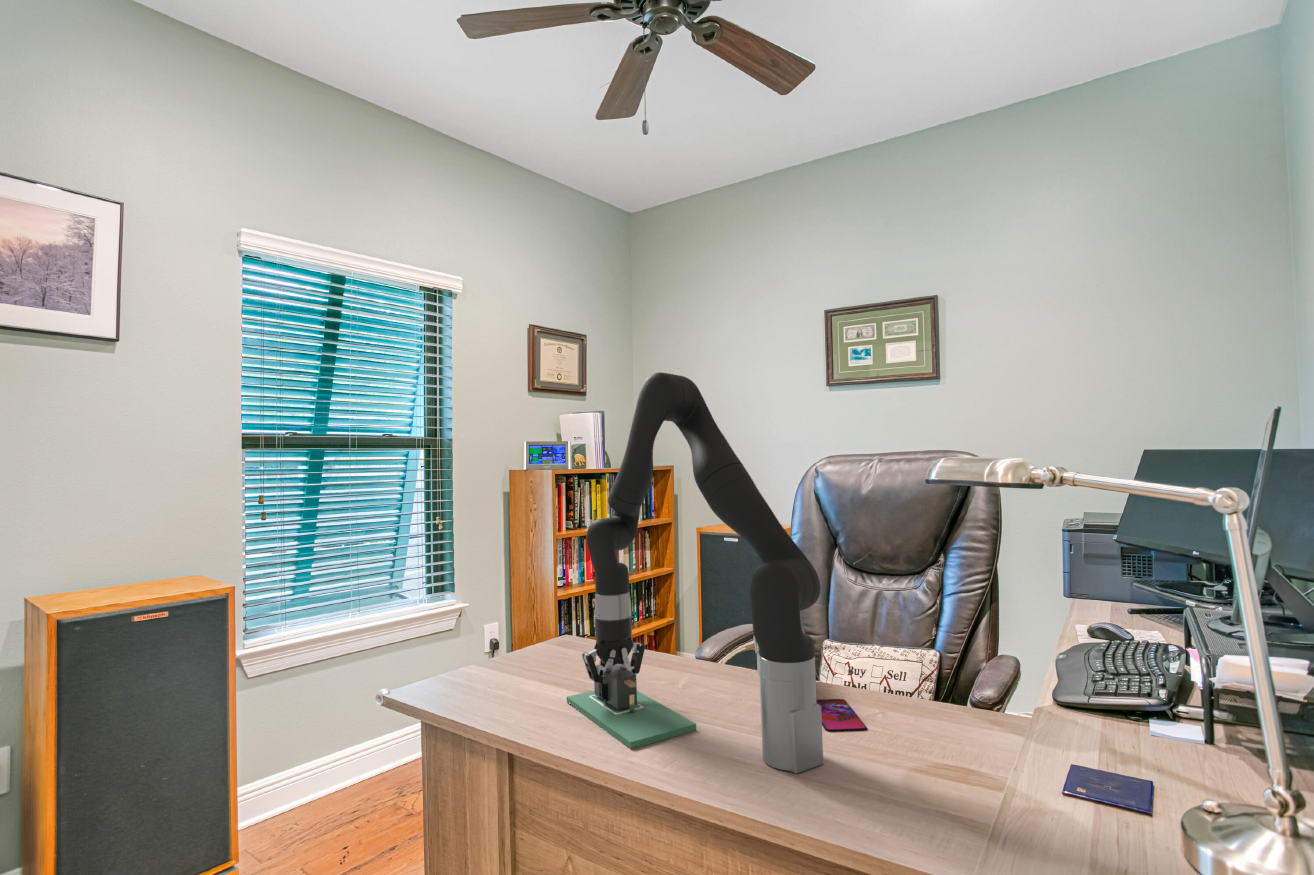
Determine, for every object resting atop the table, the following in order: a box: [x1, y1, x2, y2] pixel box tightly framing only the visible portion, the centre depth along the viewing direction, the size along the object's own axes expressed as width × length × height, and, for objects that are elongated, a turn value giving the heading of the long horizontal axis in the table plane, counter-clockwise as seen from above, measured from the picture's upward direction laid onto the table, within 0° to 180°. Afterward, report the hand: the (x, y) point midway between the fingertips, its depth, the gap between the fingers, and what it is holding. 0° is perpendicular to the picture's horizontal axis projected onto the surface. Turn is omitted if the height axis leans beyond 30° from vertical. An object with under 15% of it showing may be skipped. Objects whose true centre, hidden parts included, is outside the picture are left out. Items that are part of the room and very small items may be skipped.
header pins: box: [625, 694, 635, 713], centre depth 137 cm, size 15×1×4 cm, turn 31°
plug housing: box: [593, 664, 638, 709], centre depth 135 cm, size 13×4×6 cm, turn 31°
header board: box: [566, 689, 697, 750], centre depth 132 cm, size 28×14×1 cm, turn 31°
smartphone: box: [816, 698, 867, 733], centre depth 129 cm, size 8×1×15 cm
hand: (615, 697), depth 136 cm, fingers closed on plug housing, 4 cm apart
